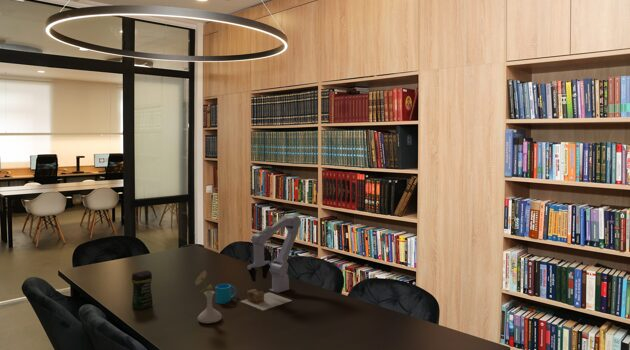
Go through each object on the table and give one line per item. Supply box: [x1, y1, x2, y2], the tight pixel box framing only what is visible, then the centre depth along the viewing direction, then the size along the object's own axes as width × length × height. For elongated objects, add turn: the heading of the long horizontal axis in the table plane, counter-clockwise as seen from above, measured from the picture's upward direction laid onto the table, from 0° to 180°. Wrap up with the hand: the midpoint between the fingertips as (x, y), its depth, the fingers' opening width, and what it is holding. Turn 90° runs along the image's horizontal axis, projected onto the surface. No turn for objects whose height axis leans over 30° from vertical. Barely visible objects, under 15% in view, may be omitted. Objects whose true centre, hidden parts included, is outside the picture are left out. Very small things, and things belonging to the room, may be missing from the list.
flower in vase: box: [194, 270, 223, 324], centre depth 217 cm, size 13×11×25 cm
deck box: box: [246, 288, 265, 304], centre depth 244 cm, size 8×5×5 cm, turn 46°
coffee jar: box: [131, 270, 153, 310], centre depth 236 cm, size 10×8×19 cm
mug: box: [215, 283, 237, 305], centre depth 247 cm, size 12×8×8 cm
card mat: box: [240, 291, 293, 311], centre depth 244 cm, size 20×19×1 cm
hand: (259, 279), depth 252 cm, fingers open, 7 cm apart
